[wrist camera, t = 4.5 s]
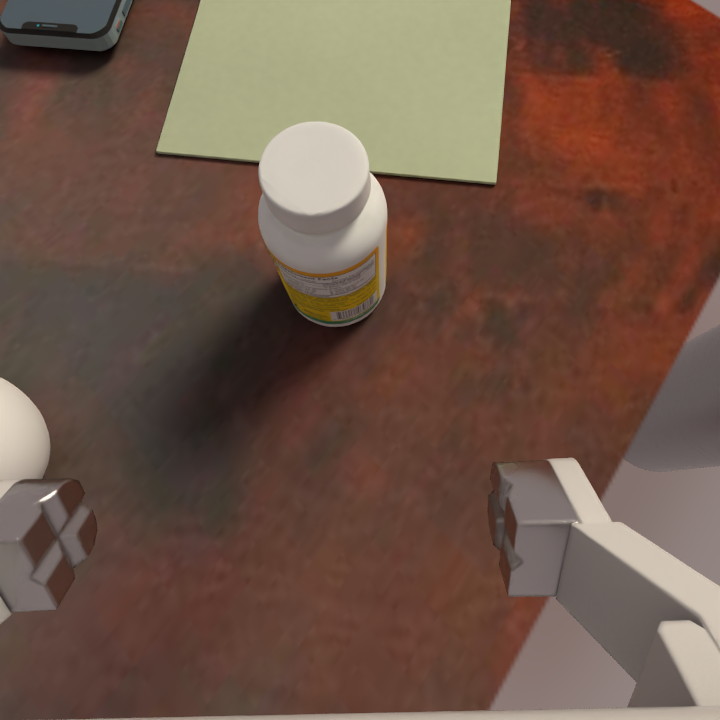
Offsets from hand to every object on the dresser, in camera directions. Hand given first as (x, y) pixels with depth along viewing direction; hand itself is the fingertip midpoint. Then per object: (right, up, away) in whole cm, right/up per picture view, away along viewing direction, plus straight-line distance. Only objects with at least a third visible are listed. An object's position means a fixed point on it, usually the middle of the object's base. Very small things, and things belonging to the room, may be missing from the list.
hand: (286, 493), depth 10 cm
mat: (0, +21, +21) cm, 30 cm away
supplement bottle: (0, +7, +17) cm, 18 cm away
